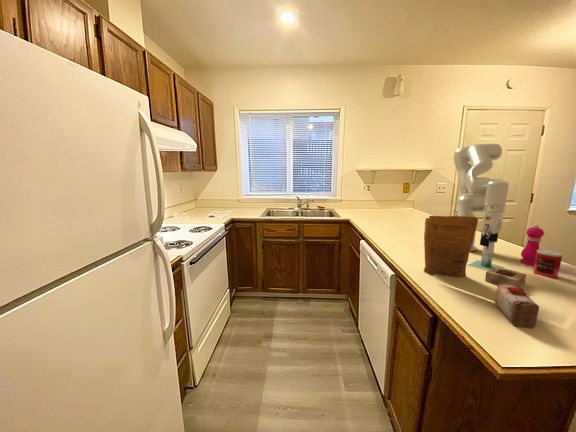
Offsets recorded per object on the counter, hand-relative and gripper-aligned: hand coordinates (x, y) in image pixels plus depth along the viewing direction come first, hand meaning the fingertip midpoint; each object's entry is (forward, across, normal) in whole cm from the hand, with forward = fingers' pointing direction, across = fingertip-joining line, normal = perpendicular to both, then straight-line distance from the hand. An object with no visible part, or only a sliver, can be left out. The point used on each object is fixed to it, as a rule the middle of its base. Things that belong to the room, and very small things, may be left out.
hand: (488, 243), depth 117 cm
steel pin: (+11, -1, -1) cm, 11 cm away
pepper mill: (+13, +22, -11) cm, 28 cm away
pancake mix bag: (+12, -25, +6) cm, 28 cm away
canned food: (+12, +10, -19) cm, 25 cm away
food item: (+11, -38, -21) cm, 45 cm away
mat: (+12, -1, -1) cm, 12 cm away
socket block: (+12, -14, -12) cm, 21 cm away
